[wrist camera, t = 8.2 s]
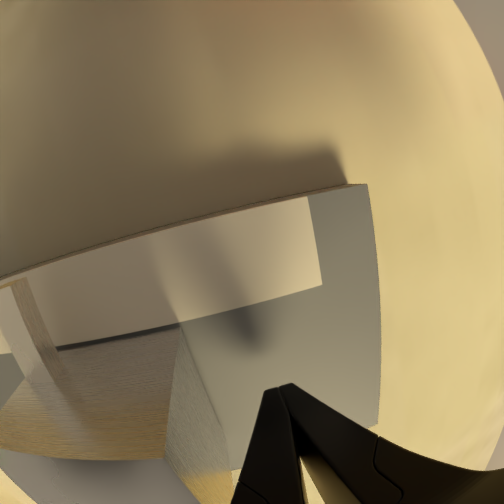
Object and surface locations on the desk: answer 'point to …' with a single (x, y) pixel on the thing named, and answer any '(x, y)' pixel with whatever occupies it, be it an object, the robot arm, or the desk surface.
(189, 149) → the desk surface
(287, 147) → the desk surface
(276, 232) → the gauge board
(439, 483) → the robot arm
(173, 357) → the grey faceted block
